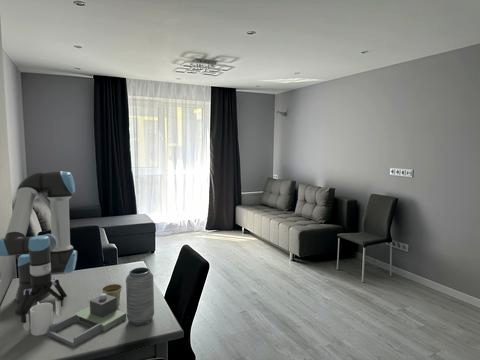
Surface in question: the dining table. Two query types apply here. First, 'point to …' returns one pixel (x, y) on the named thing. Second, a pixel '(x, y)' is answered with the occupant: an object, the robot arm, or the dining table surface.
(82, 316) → the square frame with panel
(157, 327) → the dining table surface
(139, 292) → the vase
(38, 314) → the cup
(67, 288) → the dining table surface
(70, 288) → the dining table surface
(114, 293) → the flower pot
